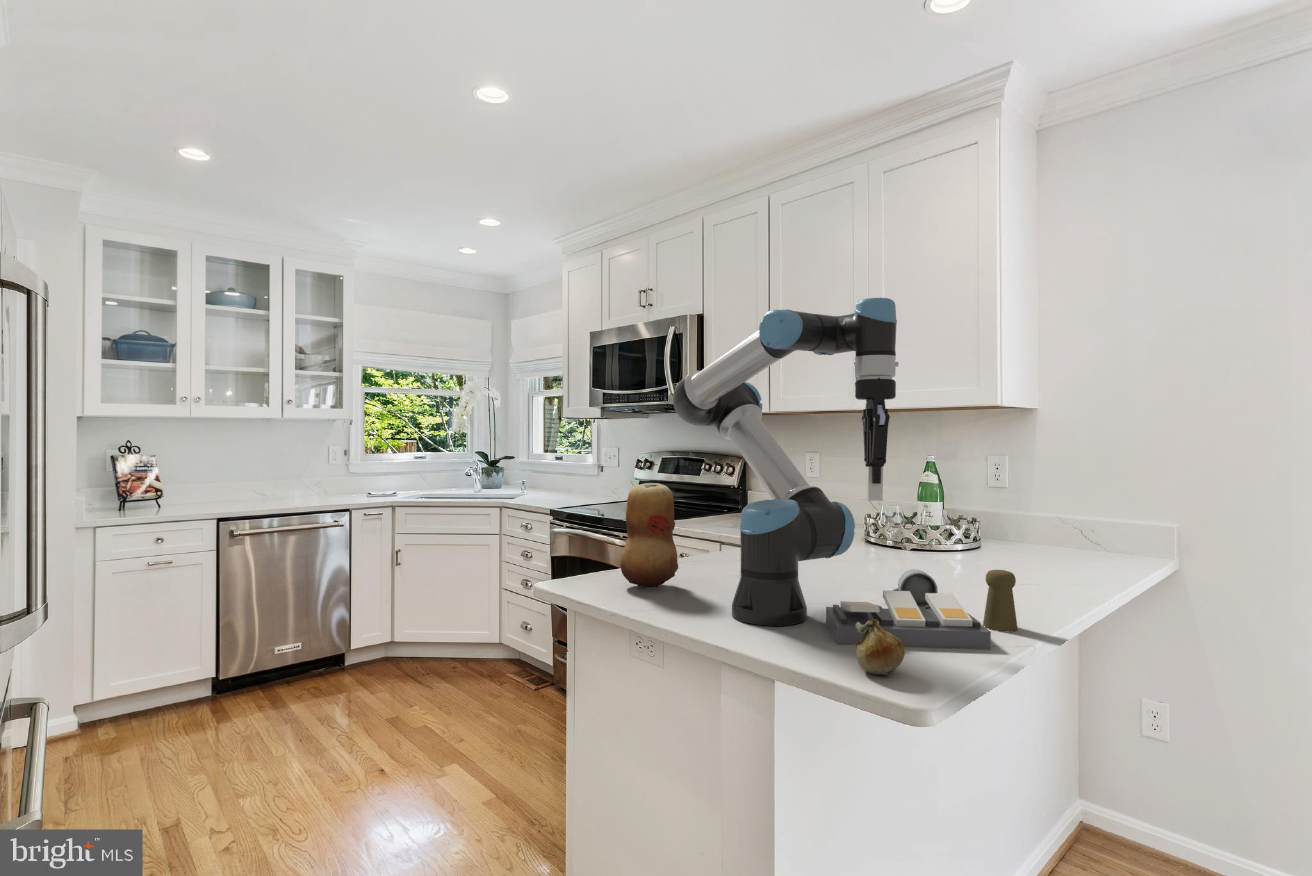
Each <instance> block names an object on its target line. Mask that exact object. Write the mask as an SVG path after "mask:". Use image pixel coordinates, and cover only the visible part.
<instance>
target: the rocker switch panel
mask: <svg viewBox="0 0 1312 876" xmlns="http://www.w3.org/2000/svg"><path fill="white" fill-rule="evenodd" d="M919 609H920V611H921V613H922V615H923V617H924V618H925V620H926V623H925V627H918V626H896V624H895V622H894V620H893V618H892V615H891V613H890V611H889V609H888V608H883V607H882V606H881V605H879V610H880V612H851V611H848V610H846V609H843V608H841V606H840V605H839V604H832V606H826V609H825V613H826V614H825V622H826V625H827V626H828V628H829V630H830V631H831V633H833V634H832V636H833V635H834V636H833V637H835V638H834V639H835V641H836V643H837V644H838V645H853V644H856V645H855V646H857V643H858V640H861V639H862V638H863V637H864V634H861V633H859V631H857V628H856V623H857V622H859V623H860V624H863V625H865V624H866V623H867V622H868V621H869V620H870V621H872V620H873V619H875V620H877V621H879V625H880V627H881V628H882V629H883V630H884V631H887V632H889V633H891V634H892V635H893V636H895V637H897V638H899V640H900V641H902V643H903V645H904V647H919V648H920V647H921V648H945V649H946V648H949V649H950V648H951V649H952V648H953V649H978V650H979V649H982V650H983V649H984V650H985V649H986V650H991V649H992V648H991V646H992V645H991V641H992V639H991V638H992V637H991V633H992V632H991V630H990V629H988V628H985V627H984V626H983V624H981V621H979V620H977V619H976V618H975V617H974V616H972V615H971V614H969V613H968V615H969V616H970V617H971V619H972V620H973V623H972V626H943V625H942V624H941V622H940V621H939V619H938V618H937V616H936V615H935V613H934V612H933V610H932V609H926V608H924V607H919Z"/></svg>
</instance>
